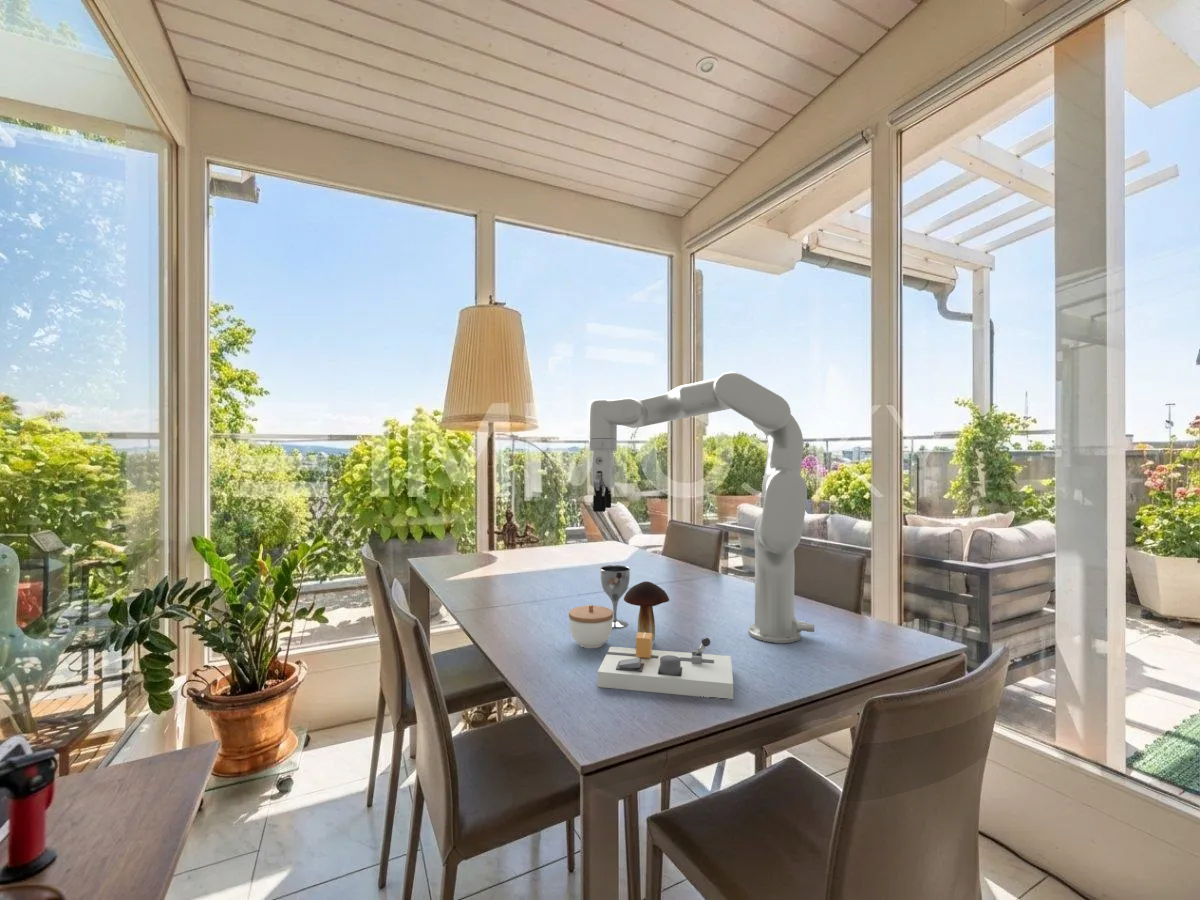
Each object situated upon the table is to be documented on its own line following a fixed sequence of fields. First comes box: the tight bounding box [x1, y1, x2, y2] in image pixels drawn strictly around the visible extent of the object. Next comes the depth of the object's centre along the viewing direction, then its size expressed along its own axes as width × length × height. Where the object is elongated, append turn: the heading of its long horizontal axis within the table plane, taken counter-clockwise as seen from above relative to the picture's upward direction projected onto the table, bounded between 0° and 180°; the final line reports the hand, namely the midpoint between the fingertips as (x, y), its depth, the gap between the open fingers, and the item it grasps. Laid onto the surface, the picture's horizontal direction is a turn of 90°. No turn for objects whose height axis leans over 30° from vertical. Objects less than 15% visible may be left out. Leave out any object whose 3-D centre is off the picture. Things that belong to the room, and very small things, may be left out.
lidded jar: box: [568, 604, 614, 649], centre depth 130 cm, size 11×11×9 cm
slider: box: [635, 631, 653, 658], centre depth 115 cm, size 3×4×4 cm
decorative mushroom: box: [623, 581, 670, 643], centre depth 131 cm, size 11×11×15 cm
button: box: [660, 655, 680, 676], centre depth 107 cm, size 4×4×4 cm
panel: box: [596, 646, 734, 700], centre depth 111 cm, size 26×14×5 cm, turn 78°
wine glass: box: [599, 564, 631, 629], centre depth 145 cm, size 8×8×15 cm
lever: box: [695, 636, 711, 656], centre depth 112 cm, size 2×2×5 cm
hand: (602, 509), depth 145 cm, fingers open, 9 cm apart
